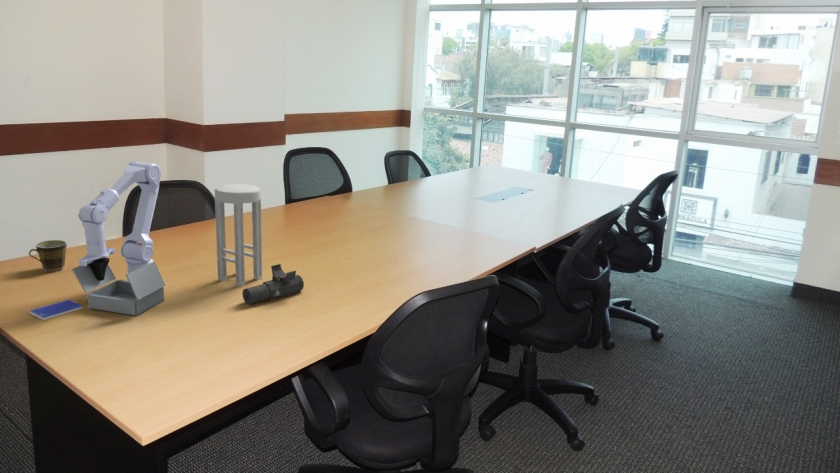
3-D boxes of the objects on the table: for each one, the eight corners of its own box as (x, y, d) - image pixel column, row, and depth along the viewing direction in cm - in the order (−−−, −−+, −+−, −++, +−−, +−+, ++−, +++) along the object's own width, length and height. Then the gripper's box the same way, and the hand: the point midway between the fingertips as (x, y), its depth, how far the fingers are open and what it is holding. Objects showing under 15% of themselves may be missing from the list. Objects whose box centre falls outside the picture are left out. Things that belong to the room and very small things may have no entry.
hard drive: (42, 316, 200) (81, 305, 210) (29, 310, 204) (68, 299, 214) (43, 321, 200) (82, 309, 210) (29, 314, 204) (68, 303, 214)
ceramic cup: (61, 263, 249) (58, 238, 247) (74, 269, 244) (71, 243, 241) (25, 271, 239) (21, 245, 237) (38, 277, 234) (35, 251, 231)
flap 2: (153, 261, 216) (154, 261, 216) (164, 285, 218) (165, 285, 217) (125, 274, 203) (126, 274, 203) (137, 300, 205) (138, 299, 204)
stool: (240, 289, 232) (237, 194, 223) (209, 280, 240) (205, 188, 230) (270, 278, 245) (268, 187, 236) (240, 269, 253) (237, 181, 243)
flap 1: (116, 278, 222) (115, 279, 222) (103, 256, 221) (102, 256, 221) (86, 292, 209) (85, 293, 209) (72, 268, 207) (71, 269, 208)
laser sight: (239, 300, 223) (238, 273, 220) (293, 286, 239) (293, 260, 236) (255, 309, 217) (254, 281, 214) (309, 293, 233) (309, 267, 230)
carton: (119, 292, 224) (118, 279, 222) (165, 299, 220) (164, 286, 218) (87, 308, 209) (86, 294, 208) (136, 316, 205) (135, 302, 204)
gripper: (90, 248, 203) (95, 288, 207) (121, 236, 217) (125, 274, 221) (71, 246, 205) (76, 286, 209) (102, 234, 218) (107, 272, 222)
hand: (100, 280), depth 215 cm, fingers closed, pressing on flap 1
